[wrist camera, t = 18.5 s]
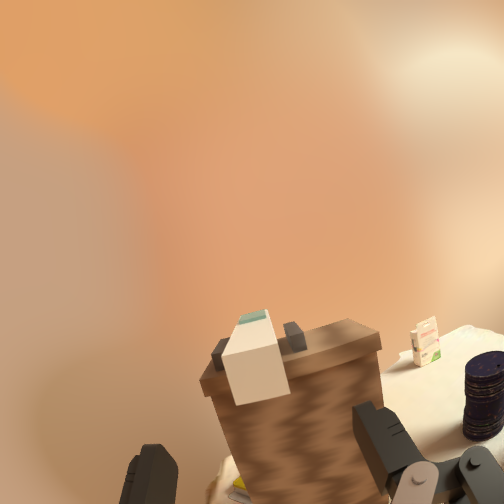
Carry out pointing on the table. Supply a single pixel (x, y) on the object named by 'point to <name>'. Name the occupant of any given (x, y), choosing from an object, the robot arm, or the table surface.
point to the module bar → (254, 360)
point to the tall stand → (305, 418)
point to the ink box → (425, 342)
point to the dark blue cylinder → (484, 396)
